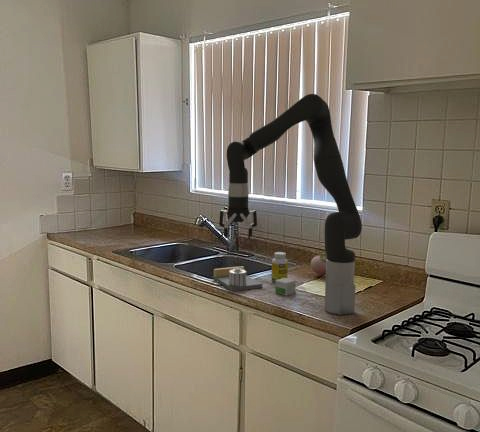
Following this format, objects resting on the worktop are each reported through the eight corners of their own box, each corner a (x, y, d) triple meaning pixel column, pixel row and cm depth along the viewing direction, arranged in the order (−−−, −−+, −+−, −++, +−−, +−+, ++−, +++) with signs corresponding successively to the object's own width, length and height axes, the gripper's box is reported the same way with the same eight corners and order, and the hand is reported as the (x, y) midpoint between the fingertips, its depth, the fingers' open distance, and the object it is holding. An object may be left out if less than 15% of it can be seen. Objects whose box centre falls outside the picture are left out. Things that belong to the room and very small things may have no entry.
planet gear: (248, 285, 189) (248, 272, 188) (233, 287, 186) (233, 274, 185) (241, 281, 194) (241, 268, 194) (226, 282, 192) (226, 270, 191)
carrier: (262, 287, 191) (262, 268, 190) (231, 291, 185) (231, 271, 184) (242, 276, 207) (242, 259, 206) (213, 279, 202) (213, 261, 201)
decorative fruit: (307, 274, 213) (307, 251, 212) (324, 273, 215) (325, 250, 214) (315, 279, 204) (316, 256, 203) (334, 278, 206) (334, 255, 205)
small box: (274, 292, 185) (274, 279, 184) (284, 289, 189) (284, 277, 188) (286, 295, 181) (286, 282, 180) (295, 292, 185) (296, 280, 184)
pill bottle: (274, 283, 197) (275, 255, 195) (269, 279, 203) (269, 251, 202) (289, 282, 199) (290, 254, 197) (284, 278, 205) (284, 251, 203)
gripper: (256, 194, 189) (256, 236, 191) (219, 194, 189) (219, 235, 191) (257, 196, 182) (257, 239, 184) (219, 195, 182) (218, 239, 184)
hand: (238, 237), depth 187 cm, fingers open, 8 cm apart
